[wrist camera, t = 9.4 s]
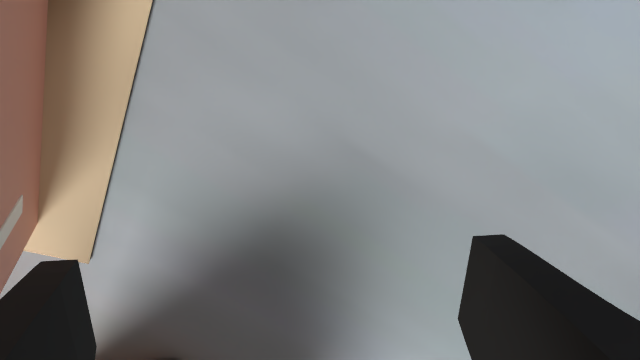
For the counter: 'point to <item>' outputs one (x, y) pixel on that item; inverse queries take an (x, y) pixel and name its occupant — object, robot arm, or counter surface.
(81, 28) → the cork mat
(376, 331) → the counter surface
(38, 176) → the pink block
